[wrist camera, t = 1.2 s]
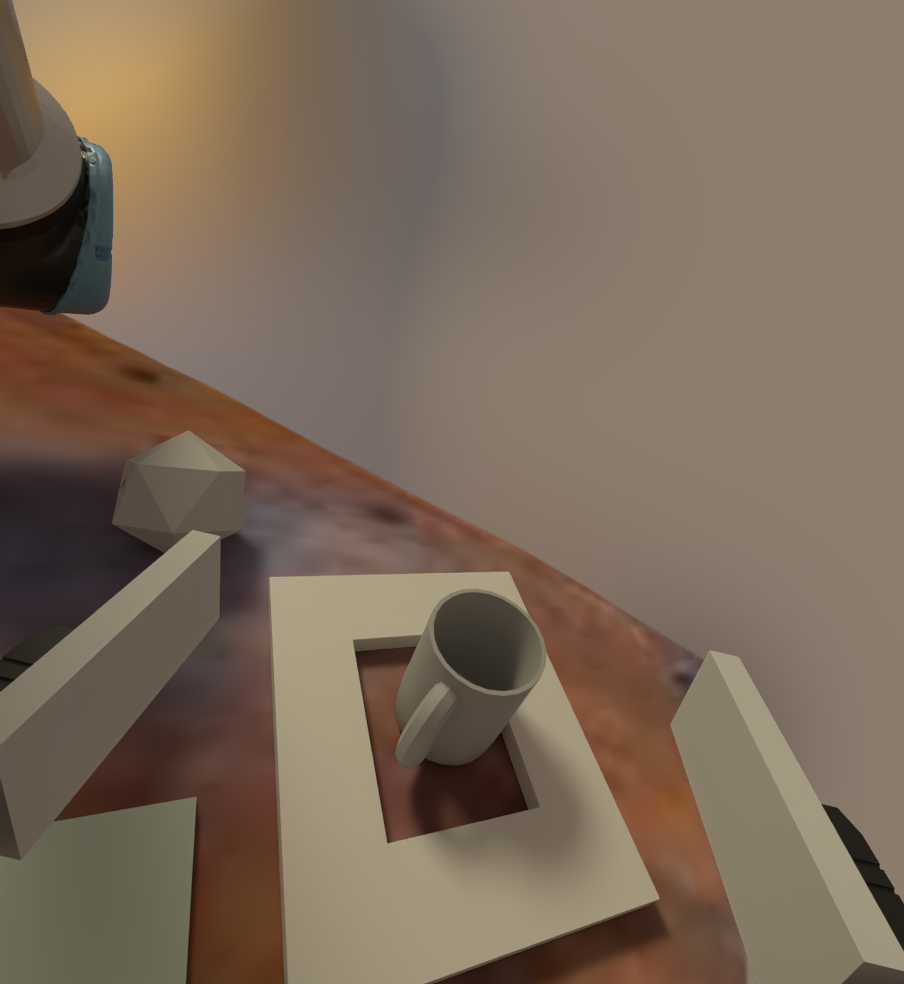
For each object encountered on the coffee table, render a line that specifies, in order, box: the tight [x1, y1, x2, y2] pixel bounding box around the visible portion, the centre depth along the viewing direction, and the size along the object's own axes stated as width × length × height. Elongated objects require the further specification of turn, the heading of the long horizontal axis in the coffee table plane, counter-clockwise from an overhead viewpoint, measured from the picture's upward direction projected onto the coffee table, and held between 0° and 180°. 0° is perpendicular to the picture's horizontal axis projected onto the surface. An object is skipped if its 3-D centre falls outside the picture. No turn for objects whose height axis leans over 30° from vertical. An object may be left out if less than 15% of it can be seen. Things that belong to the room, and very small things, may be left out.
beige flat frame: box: [268, 572, 660, 984], centre depth 34 cm, size 24×20×2 cm
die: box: [112, 430, 246, 553], centre depth 39 cm, size 8×9×10 cm
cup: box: [395, 589, 546, 769], centre depth 32 cm, size 7×10×9 cm
